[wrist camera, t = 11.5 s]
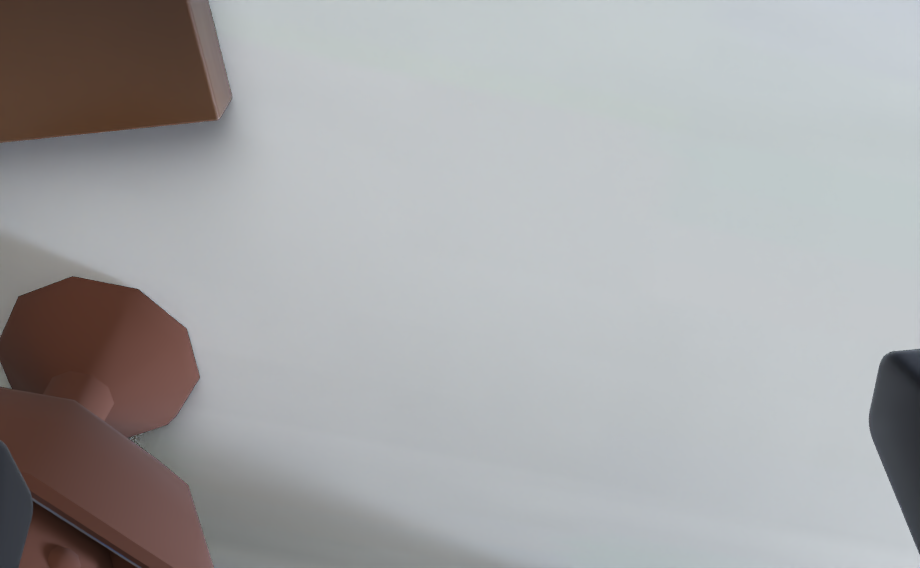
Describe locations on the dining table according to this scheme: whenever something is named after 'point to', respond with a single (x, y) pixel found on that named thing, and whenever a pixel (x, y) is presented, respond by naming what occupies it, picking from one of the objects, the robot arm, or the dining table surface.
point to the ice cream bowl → (98, 427)
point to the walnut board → (107, 66)
